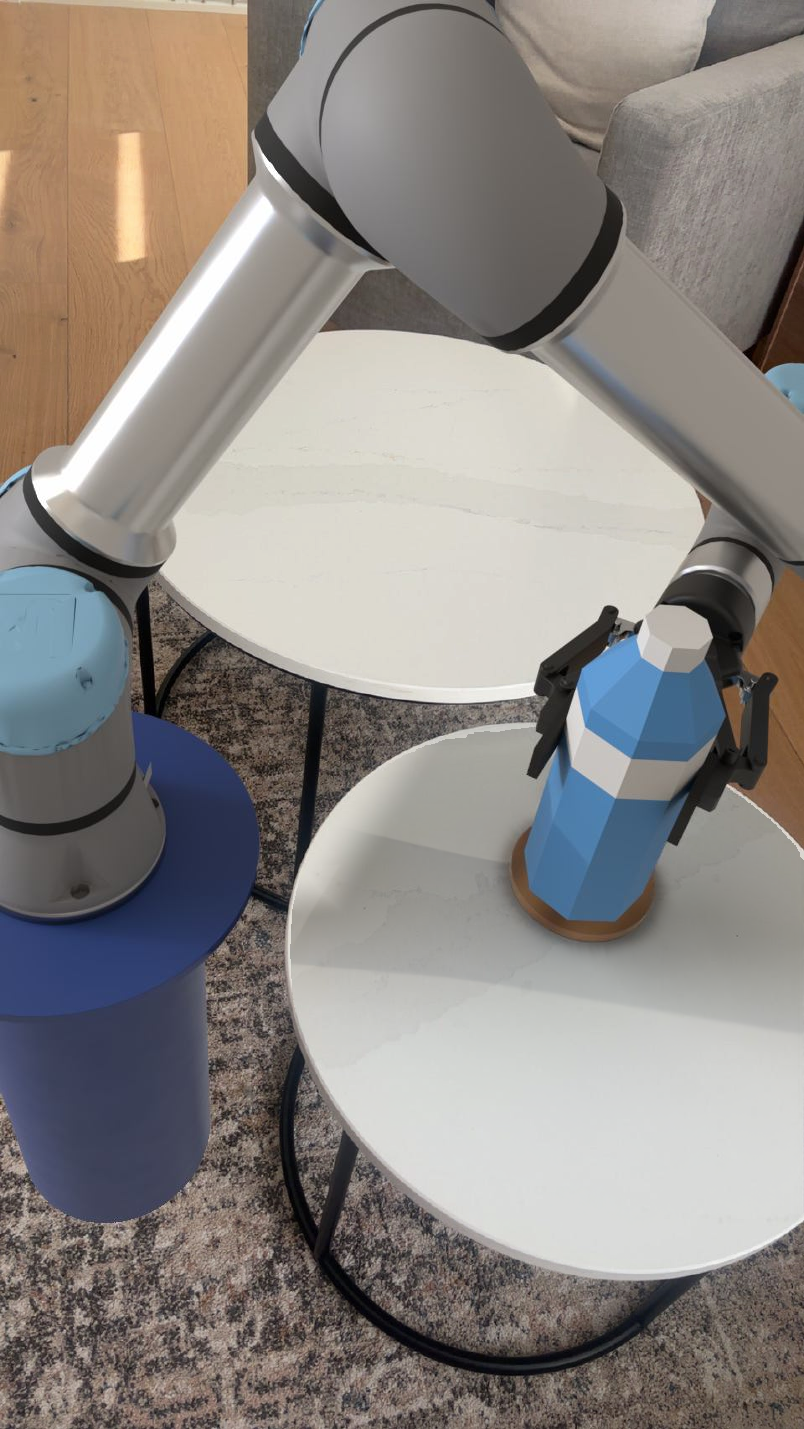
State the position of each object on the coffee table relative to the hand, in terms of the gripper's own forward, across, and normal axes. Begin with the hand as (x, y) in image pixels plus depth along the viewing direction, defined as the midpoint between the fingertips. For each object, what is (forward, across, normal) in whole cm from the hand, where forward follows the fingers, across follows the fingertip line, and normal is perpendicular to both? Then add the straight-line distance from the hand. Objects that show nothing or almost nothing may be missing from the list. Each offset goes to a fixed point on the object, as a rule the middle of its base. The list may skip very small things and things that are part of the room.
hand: (605, 796), depth 70 cm
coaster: (-9, 0, -20) cm, 22 cm away
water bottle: (-4, 0, -14) cm, 14 cm away
